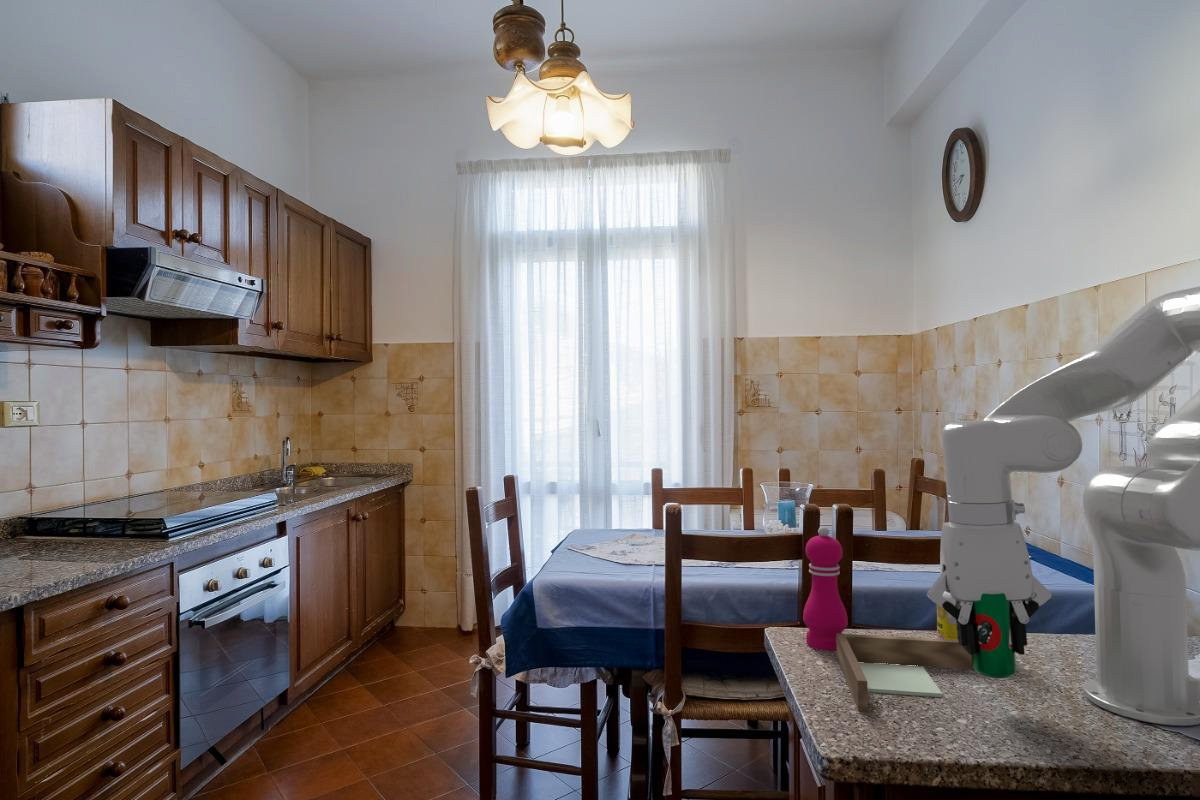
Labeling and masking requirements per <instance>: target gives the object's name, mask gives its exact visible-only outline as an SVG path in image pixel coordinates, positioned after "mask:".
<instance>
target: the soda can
mask: <svg viewBox="0 0 1200 800" xmlns="http://www.w3.org/2000/svg"><path fill="white" fill-rule="evenodd" d="M969 619H970V623H971V624H972V625H973V627H974V638H975V649H976V654H974V655H971V656H972V666H973V670H975V671H976V672H977V673H978V674H980V675H981V676H983V677H988V678H992V679H1001V680H1002V679H1009V678H1011V677H1013V676H1014V675H1015V674H1016V673H1017V670H1018V667H1017V658H1016V652H1015V645H1014V634H1013V622H1012V611H1011V602H1010V601H1008V600H1007V599H1006V596H1005V594H1004V593H1002V592H999V591H994V590H993V591H988V592H986V593H984V594H982V596H981V600H980V601H977V602H973V604H972V608H971V612H970V616H969Z"/></svg>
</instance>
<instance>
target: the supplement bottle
mask: <svg viewBox="0 0 1200 800" xmlns="http://www.w3.org/2000/svg"><path fill="white" fill-rule="evenodd" d="M943 597H944V598H945V599H947V600H948V601H949V602H951V603H952V604H953V605H954V602H955V599H954V598H952V596H951V594H950V593H948V592H946V591H945V592H944V593H943ZM936 628H937V629H936V631H937V633H936V634H937V636H936V637H937V638H936V639H950V640H958V635H957V624H956V619H955V618H954V617H953V616H952V615H950V614H949V613H948V612H947V611H946V610H945V609H943V608H942V607H940V606H939V605H937V604H936Z"/></svg>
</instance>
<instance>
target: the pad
mask: <svg viewBox="0 0 1200 800" xmlns="http://www.w3.org/2000/svg"><path fill="white" fill-rule="evenodd" d="M859 665H860V667H861V669H862V671H863V673H864V675H865V677H866V680H867V690H868V693H877V694H891V695H892V694H893V695H904V696H905V695H907V696H916V697H918V696H919V697H920V696H921V697H932V698H933V697H934V698H936V697H937V698H944V697H943V696H944V695H943V692H942V691H941V689H940V688H939V686H938V685H937V684H936V683H935V681H934V680H933V678H932V677H931V676H930V674H929V673H928V672H927V670H926V669H925V667H922V666H906V665H890V664H874V663H859Z"/></svg>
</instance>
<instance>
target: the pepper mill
mask: <svg viewBox="0 0 1200 800" xmlns="http://www.w3.org/2000/svg"><path fill="white" fill-rule="evenodd" d="M817 533H818V535H816V536H813V537H811V538H810V539H809V540H808V541H807V542H806V545H805V555H806V557H807V559H808V560H809V562H810V563H809V564H808V566H809V570H808V572H809V573H810V574H811V590H810V593H809V596H808V598H807V601H806V603H805V605H804V608H803V611H802V612H803V614H802V620H803V623H804V624H805V626H806V627H807V628H808V630H807V631H806V633H805V635H806V638H805V639H806V644H807V645H808V646H809V647H811V648H812V649H816V650H820V651H825V652H826V651H827V652H832V651H833V652H834V651H836V650H837V642H836V633H839V634H843V632H844V631H845V630H846V628H847V627H848V623H849V621H848V613H847V611H846V608H845V606H844V603H843V601H842V599H841V595H840V594H839V589H838V576H839V575H840V573H841V572H840V565H839V564H838V563H839V562H840V561H841V560H842V558H843V553H844V552H843V547H842V545H841V543H840V541H839V540H838V539H836V538H834V537H832V536H829V534H830V530H829V528H828V527H826V526H820V527H819V528H818V530H817ZM836 652H837V651H836Z"/></svg>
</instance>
